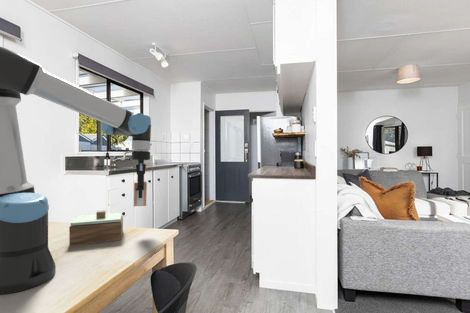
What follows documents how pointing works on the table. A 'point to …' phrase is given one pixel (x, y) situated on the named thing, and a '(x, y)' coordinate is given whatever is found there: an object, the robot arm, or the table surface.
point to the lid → (97, 218)
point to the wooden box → (95, 232)
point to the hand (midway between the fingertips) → (139, 204)
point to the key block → (136, 192)
